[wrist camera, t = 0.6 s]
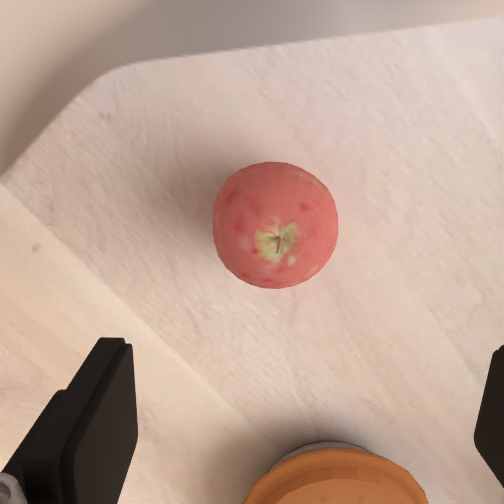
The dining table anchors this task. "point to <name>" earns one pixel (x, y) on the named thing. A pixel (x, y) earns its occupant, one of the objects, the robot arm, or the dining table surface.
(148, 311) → the dining table surface
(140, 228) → the dining table surface
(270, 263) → the apple
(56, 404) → the robot arm
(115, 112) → the dining table surface
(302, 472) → the pie
